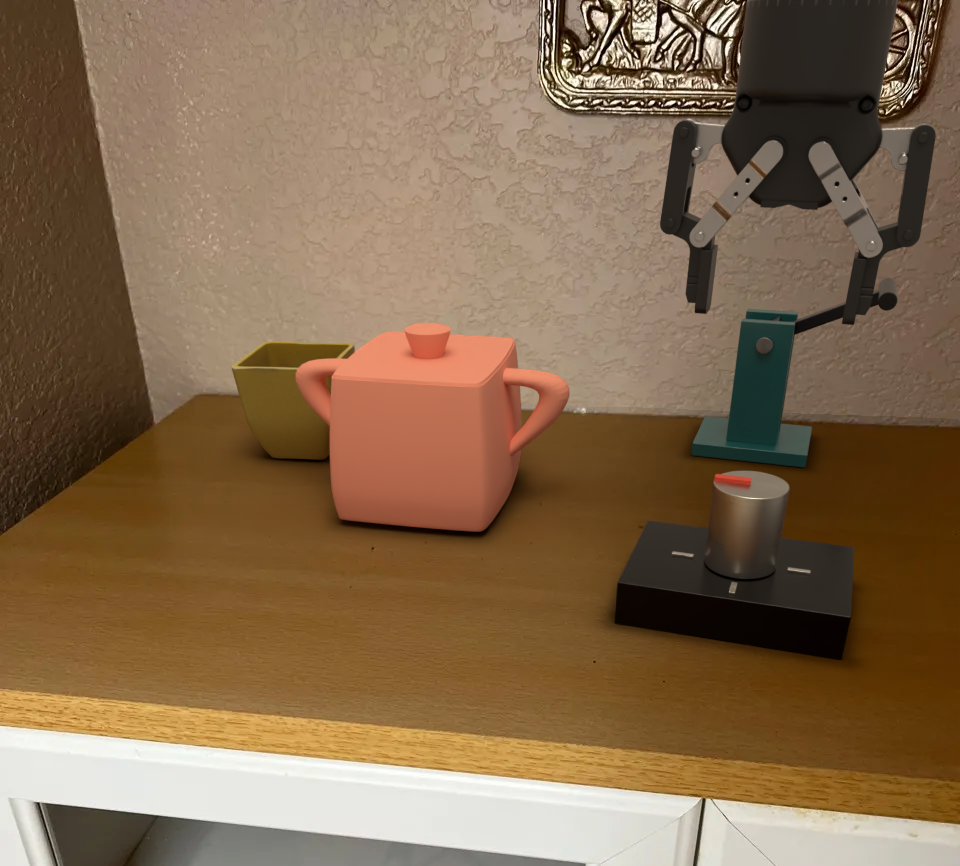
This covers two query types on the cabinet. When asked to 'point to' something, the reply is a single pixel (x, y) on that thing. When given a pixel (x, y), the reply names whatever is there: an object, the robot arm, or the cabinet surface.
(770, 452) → the lever bracket
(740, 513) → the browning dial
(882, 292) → the lever
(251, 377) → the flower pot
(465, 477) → the sugar bowl
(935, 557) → the cabinet surface
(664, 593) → the dial panel
